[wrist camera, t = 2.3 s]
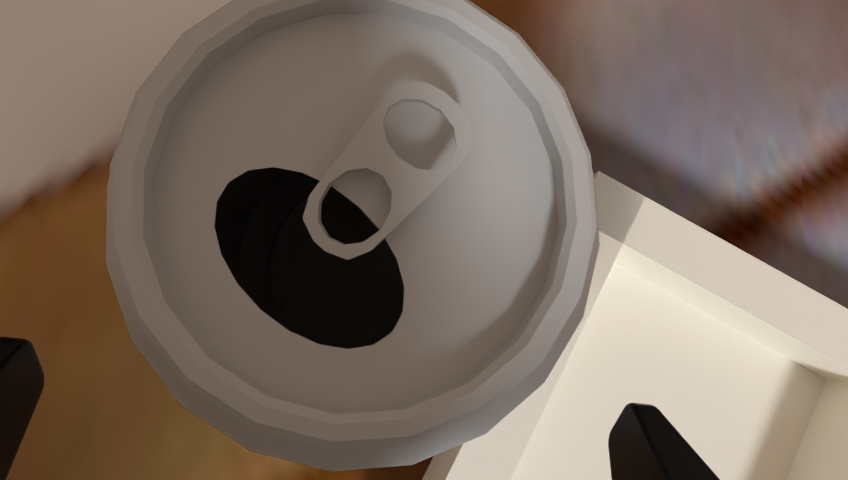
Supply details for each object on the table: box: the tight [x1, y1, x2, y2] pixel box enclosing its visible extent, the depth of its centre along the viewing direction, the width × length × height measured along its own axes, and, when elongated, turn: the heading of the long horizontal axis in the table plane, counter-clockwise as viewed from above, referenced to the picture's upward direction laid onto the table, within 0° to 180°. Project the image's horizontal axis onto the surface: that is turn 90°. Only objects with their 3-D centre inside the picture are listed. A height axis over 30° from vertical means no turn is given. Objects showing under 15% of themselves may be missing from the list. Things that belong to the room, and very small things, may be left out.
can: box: [106, 0, 600, 471], centre depth 13 cm, size 8×8×12 cm
